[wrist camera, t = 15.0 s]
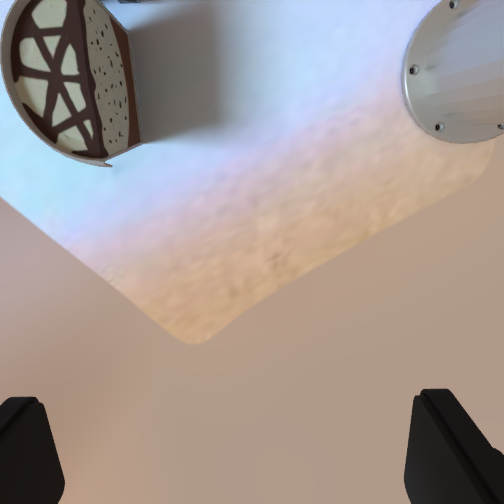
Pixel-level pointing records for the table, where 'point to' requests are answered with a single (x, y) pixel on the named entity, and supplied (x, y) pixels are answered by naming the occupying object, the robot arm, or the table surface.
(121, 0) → the trolley
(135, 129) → the food container
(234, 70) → the table surface
